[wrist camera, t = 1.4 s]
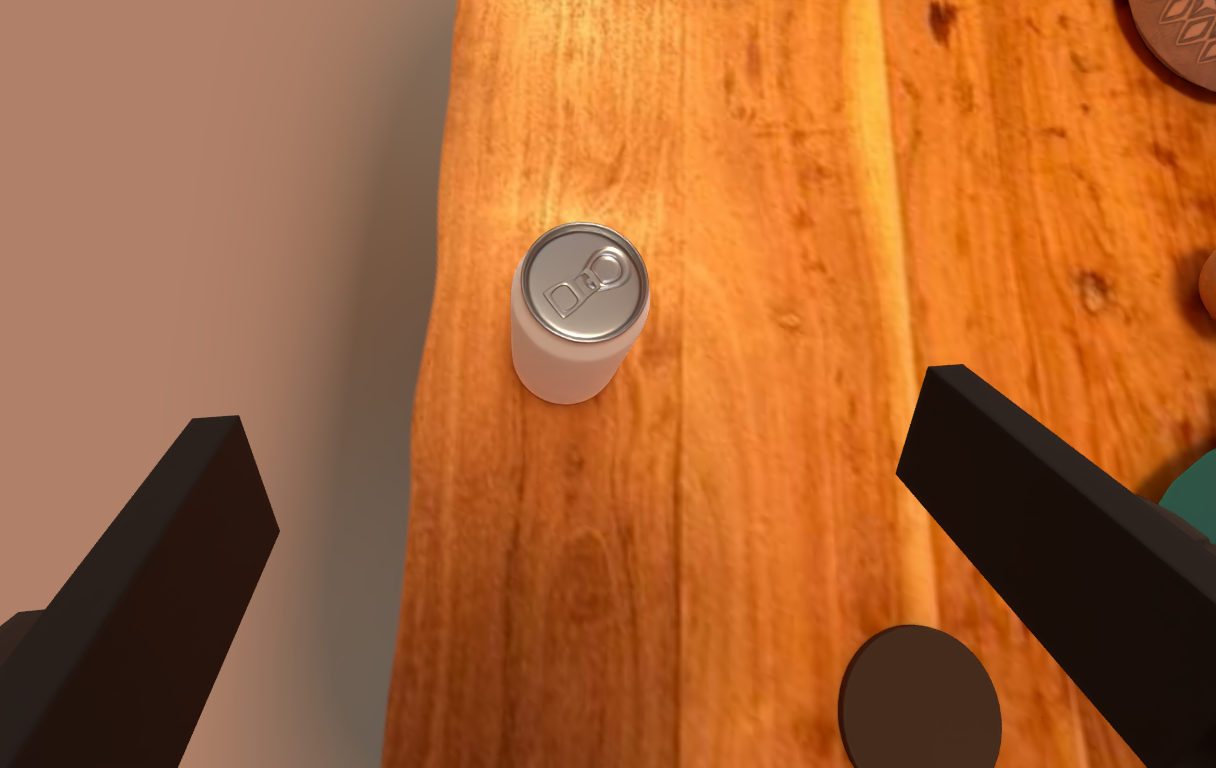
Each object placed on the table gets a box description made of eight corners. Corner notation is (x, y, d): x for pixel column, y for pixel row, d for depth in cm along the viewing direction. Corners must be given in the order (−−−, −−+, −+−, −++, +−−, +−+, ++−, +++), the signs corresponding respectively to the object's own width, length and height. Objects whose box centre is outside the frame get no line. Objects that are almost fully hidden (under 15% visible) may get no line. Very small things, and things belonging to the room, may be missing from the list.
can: (636, 366, 39) (688, 297, 28) (554, 427, 38) (572, 382, 26) (573, 286, 40) (598, 187, 28) (490, 343, 38) (479, 263, 27)
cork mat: (880, 841, 35) (886, 846, 34) (812, 662, 37) (816, 664, 36) (1021, 766, 37) (1030, 770, 36) (951, 600, 39) (958, 601, 38)
